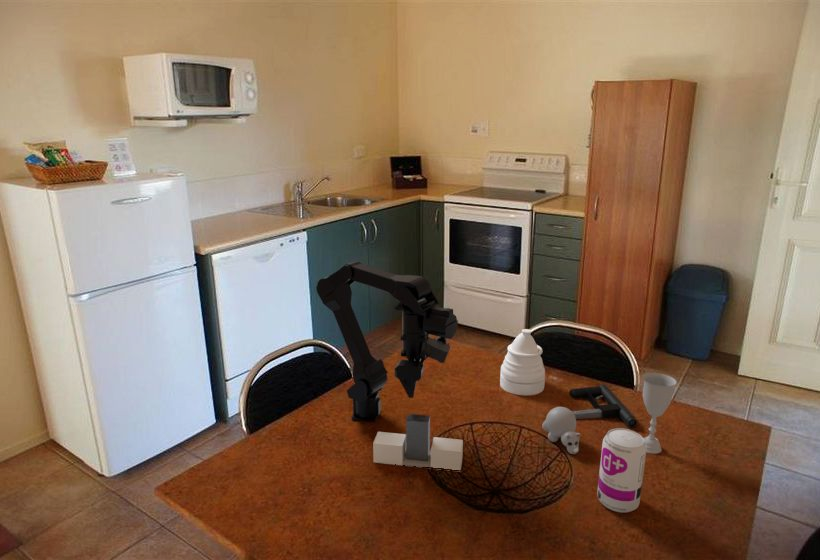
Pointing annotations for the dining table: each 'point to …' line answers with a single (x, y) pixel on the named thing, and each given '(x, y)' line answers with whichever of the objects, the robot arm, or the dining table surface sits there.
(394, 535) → the dining table surface
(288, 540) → the dining table surface
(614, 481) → the supplement can
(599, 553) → the dining table surface
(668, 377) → the chalice
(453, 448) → the white block dumbbell
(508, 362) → the honey pot
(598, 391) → the toy submachine gun
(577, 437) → the round bodied animal figurine
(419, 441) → the grey brushed metal block
